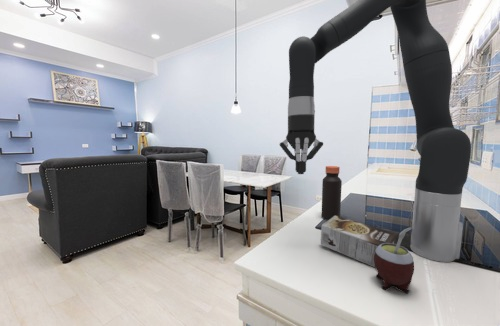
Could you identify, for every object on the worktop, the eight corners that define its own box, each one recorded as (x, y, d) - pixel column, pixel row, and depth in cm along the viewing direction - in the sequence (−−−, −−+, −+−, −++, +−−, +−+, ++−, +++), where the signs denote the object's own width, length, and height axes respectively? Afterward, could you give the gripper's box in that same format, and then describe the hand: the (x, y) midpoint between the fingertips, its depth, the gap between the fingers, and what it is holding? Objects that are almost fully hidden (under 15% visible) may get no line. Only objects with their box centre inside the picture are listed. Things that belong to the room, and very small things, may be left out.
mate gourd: (383, 270, 51) (387, 208, 49) (423, 290, 44) (430, 219, 43) (364, 281, 47) (368, 214, 46) (405, 305, 41) (412, 227, 39)
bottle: (343, 219, 83) (346, 167, 81) (331, 222, 80) (334, 168, 78) (329, 213, 89) (331, 165, 87) (317, 217, 86) (319, 166, 84)
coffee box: (334, 214, 67) (397, 232, 56) (333, 233, 68) (394, 255, 57) (321, 224, 60) (388, 247, 49) (319, 245, 62) (385, 272, 51)
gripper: (320, 115, 67) (319, 171, 68) (277, 116, 67) (277, 172, 69) (328, 112, 59) (326, 175, 61) (279, 113, 60) (279, 176, 62)
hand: (300, 173), depth 65 cm, fingers closed
